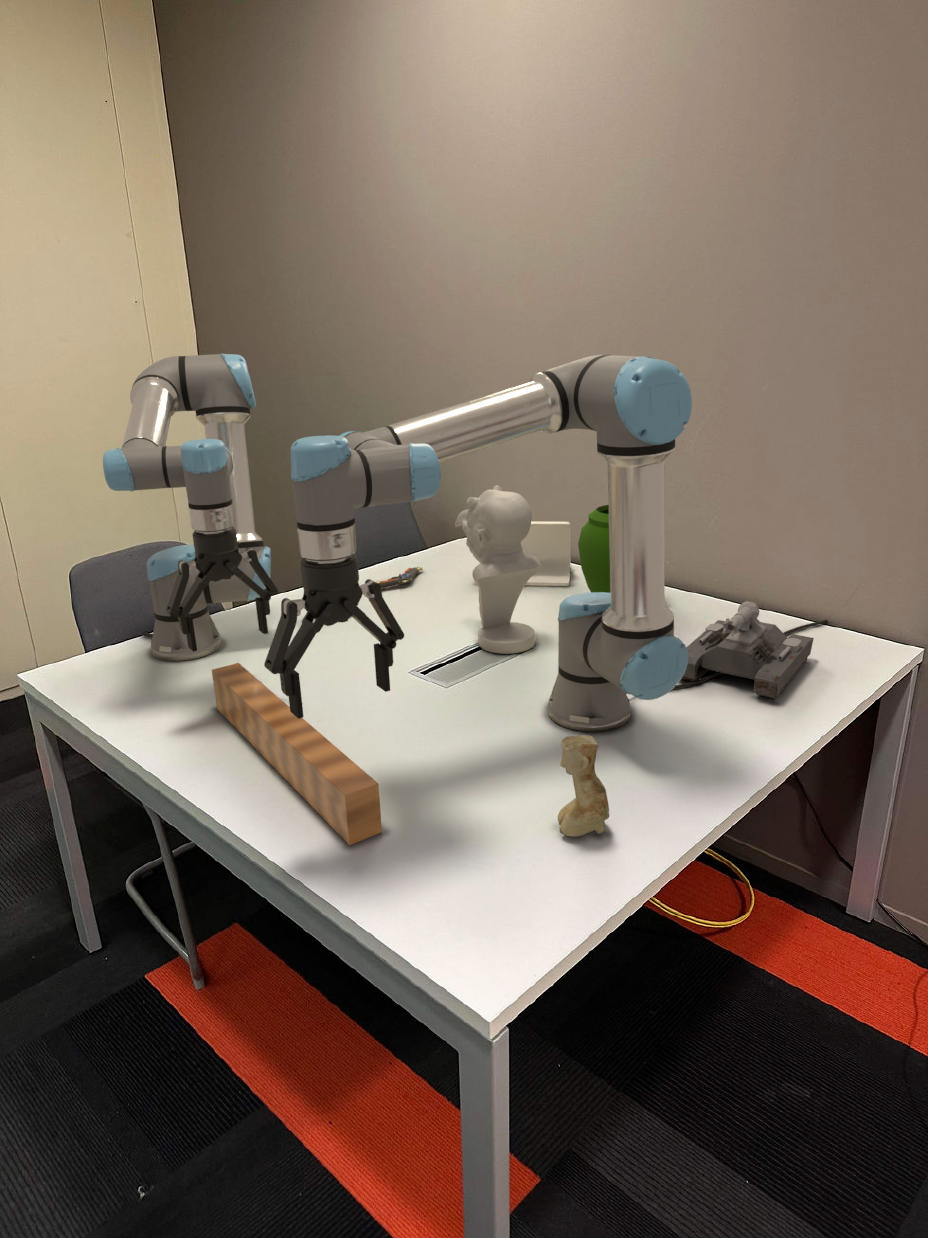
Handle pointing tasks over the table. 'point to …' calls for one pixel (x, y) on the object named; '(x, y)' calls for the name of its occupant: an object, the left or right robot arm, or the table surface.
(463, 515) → the bust sculpture
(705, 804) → the table surface
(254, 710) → the bar
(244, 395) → the left robot arm
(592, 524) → the vase
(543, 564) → the tablet stand
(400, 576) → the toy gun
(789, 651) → the toy
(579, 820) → the sculpture
